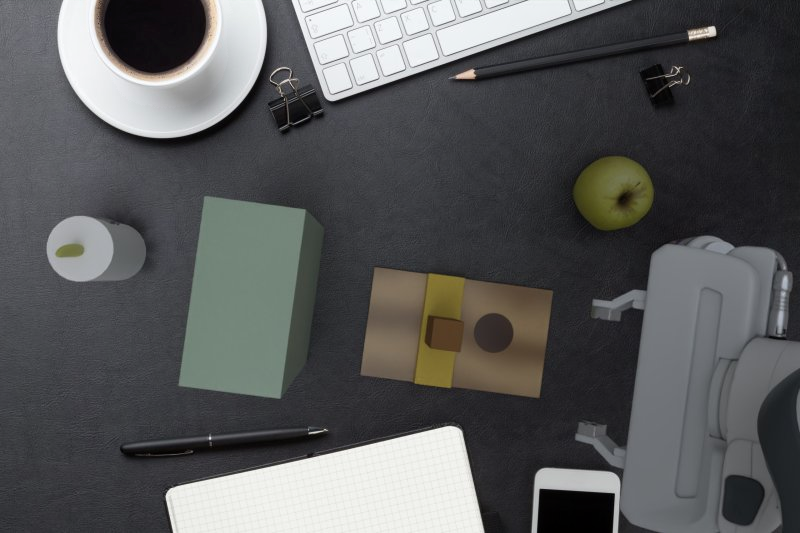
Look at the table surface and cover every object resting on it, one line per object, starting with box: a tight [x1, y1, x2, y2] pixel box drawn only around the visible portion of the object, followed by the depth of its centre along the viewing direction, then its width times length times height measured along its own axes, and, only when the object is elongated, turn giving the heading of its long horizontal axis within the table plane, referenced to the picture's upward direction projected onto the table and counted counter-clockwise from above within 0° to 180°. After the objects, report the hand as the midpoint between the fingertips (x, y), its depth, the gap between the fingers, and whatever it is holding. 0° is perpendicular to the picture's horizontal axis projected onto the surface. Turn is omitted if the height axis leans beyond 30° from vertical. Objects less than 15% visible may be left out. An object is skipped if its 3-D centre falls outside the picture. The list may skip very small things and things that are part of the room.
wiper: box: [413, 272, 466, 389], centre depth 79 cm, size 12×4×10 cm, turn 172°
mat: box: [359, 266, 554, 399], centre depth 84 cm, size 12×20×1 cm, turn 82°
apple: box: [572, 155, 655, 231], centre depth 80 cm, size 8×8×10 cm
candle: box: [46, 215, 147, 283], centre depth 75 cm, size 6×6×15 cm
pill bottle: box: [668, 235, 736, 254], centre depth 80 cm, size 5×5×10 cm
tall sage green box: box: [178, 195, 326, 400], centre depth 71 cm, size 15×8×24 cm, turn 172°
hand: (587, 368), depth 59 cm, fingers open, 8 cm apart
